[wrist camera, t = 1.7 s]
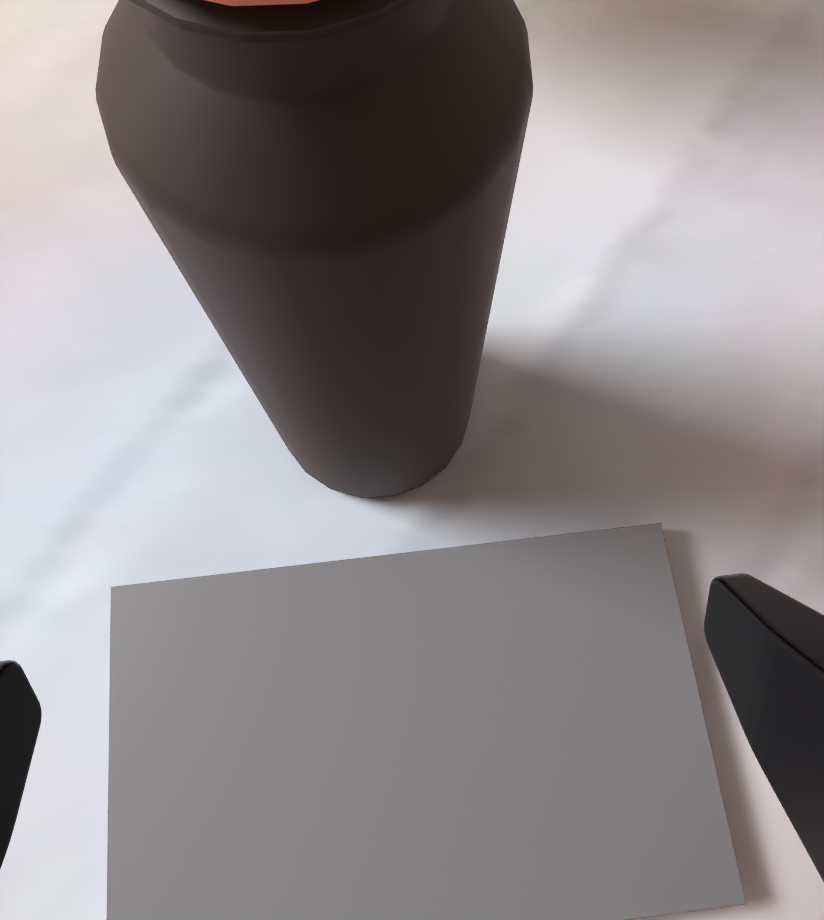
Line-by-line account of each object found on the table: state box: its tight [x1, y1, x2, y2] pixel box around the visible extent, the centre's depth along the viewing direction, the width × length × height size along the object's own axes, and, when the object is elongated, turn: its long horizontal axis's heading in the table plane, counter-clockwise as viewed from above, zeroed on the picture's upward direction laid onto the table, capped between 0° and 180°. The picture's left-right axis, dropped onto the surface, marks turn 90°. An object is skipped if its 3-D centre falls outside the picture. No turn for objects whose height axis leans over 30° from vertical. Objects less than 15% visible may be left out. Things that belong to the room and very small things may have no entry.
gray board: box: [107, 523, 746, 920], centre depth 21 cm, size 11×18×1 cm, turn 97°
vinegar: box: [96, 0, 533, 497], centre depth 15 cm, size 7×7×20 cm
